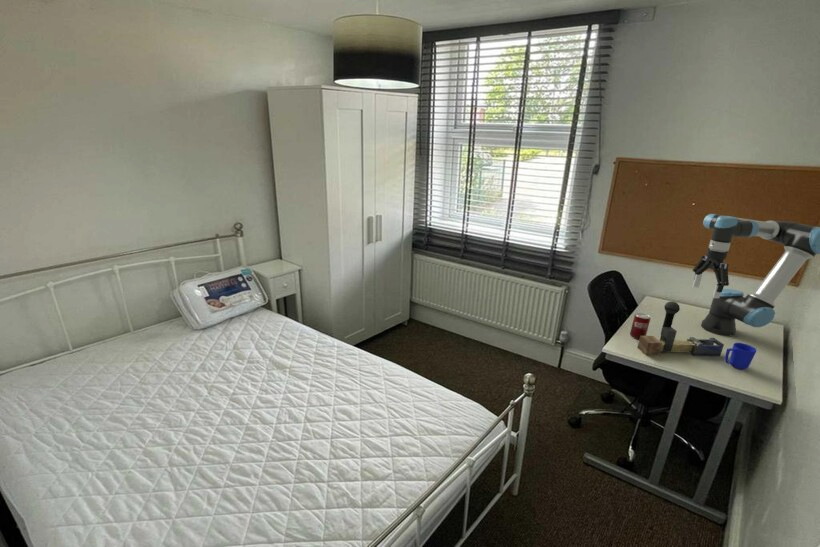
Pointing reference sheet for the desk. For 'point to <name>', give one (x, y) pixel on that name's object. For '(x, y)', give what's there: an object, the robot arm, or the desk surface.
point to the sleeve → (706, 347)
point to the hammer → (674, 342)
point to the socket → (649, 345)
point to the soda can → (640, 325)
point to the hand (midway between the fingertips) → (705, 292)
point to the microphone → (670, 313)
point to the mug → (740, 355)
